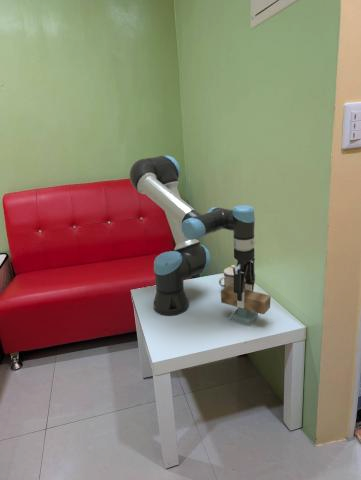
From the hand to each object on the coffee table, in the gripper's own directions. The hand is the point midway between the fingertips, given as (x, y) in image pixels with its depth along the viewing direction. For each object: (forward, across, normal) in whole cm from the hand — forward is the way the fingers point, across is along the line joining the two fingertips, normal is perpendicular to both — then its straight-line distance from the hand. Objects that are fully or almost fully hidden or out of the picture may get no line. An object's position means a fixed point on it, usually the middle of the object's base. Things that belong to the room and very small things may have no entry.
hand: (244, 303), depth 137 cm
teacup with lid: (+7, +19, +16) cm, 26 cm away
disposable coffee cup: (+7, +15, +7) cm, 18 cm away
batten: (+1, 0, 0) cm, 1 cm away
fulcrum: (+7, 0, 0) cm, 7 cm away
